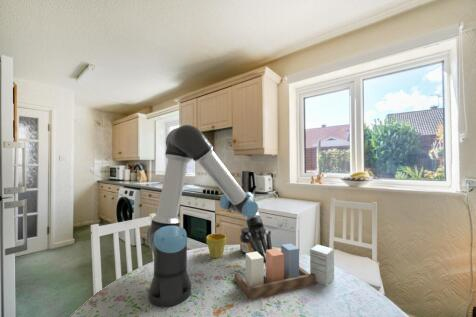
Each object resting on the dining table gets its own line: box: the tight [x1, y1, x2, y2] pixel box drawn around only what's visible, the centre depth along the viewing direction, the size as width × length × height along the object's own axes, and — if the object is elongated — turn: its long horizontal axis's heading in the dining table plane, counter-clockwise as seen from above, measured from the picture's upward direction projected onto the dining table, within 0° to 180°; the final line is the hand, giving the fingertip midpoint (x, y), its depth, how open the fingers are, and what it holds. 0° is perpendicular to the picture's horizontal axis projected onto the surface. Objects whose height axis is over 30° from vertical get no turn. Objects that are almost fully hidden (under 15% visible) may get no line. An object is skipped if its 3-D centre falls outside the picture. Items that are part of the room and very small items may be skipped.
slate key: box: [280, 243, 300, 278], centre depth 93 cm, size 5×6×12 cm
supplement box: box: [309, 244, 335, 286], centre depth 91 cm, size 7×7×13 cm
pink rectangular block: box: [265, 248, 284, 282], centre depth 88 cm, size 5×6×12 cm
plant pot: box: [205, 233, 227, 259], centre depth 113 cm, size 10×10×10 cm
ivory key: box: [245, 252, 265, 287], centre depth 85 cm, size 5×6×12 cm
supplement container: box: [239, 226, 257, 256], centre depth 117 cm, size 10×10×12 cm
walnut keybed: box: [234, 265, 316, 301], centre depth 88 cm, size 29×14×4 cm, turn 110°
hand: (269, 270), depth 92 cm, fingers closed
